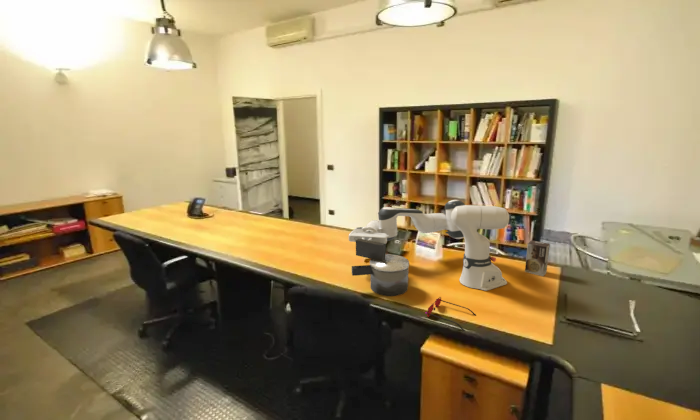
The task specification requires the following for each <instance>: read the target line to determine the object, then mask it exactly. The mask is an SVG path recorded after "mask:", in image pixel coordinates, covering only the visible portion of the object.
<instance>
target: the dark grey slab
mask: <svg viewBox="0 0 700 420" xmlns="http://www.w3.org/2000/svg"><path fill="white" fill-rule="evenodd" d="M355 256H356V257H357V256H358V257H361V258H362V257H363V258H367V259H369V265H370V266H371V267H372V268H374V269H376V270H378V271H383V272H399V271H403V270H405V269H407V268H408V269H409V267H410V260H408V259H407V258H406V257H405V256H402V255H397V254H389V253H387V254H386V243H385V244H384V243H379V242H374V241H369V240H364V239H357V240H356V242H355Z"/></svg>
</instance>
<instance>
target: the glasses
mask: <svg viewBox="0 0 700 420" xmlns="http://www.w3.org/2000/svg"><path fill="white" fill-rule="evenodd" d="M442 302H443V303H447V304H450V305H453V306H457V307H459V308H463V309H466V310H467V311H469V312H471V313H472V315H474V316H477V314H476V313H474V312H473V310H471V309H470V308H468V307H465V306H462V305H459V304H455V303H452V302H450V301H446V300H442V297H441V296H439V297H438V298H436V299H435V301H434V302H433V303H431V305H430V306H429V307H427V311H426V312H425V314H426V316H427V317H428V318H429V317H430V316H433V317H435V318H438V319H441V320H445V321H448V322H451V323H453V324H455V325H457V326H458V327H459V328H460V330H461V331H463V332H466V330H465V329H464V328H463V327H462V325H460V324H459V323H457V322H456V321H454V320H450V319H447V318H444V317H441V316H437V315H435V314H432V312H433V311H436V308H437V309H438V308H439V307H440V305H441V303H442ZM434 306H435V307H434Z"/></svg>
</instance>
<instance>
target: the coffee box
mask: <svg viewBox="0 0 700 420" xmlns="http://www.w3.org/2000/svg"><path fill="white" fill-rule="evenodd" d="M550 246H551V243H548V242H542V241H536V240H532V239H531V240H530V241H529V242H528V243H527V245H526V247H527V248H526V256H525V257H526V258H525V268H524V272H525V273H529V274H532V275H537V276H539V277H540V276H541V277H544V276H546V274H547V272H548V262H549V254H550V253H549V252H550Z"/></svg>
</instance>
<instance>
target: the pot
mask: <svg viewBox="0 0 700 420" xmlns="http://www.w3.org/2000/svg"><path fill="white" fill-rule="evenodd" d="M351 275H352V276H353V277H354V276H366V275H367V276H369V275H370V289H371V291H372V292H373V293H375V294H377V295H378V296H379V295H380V296H384V297H397V296H402V295H403V294H405V293H406V292H408V289H409V267H408V268H407V269H405V270H403V271H399V272H383V271H378V270H376V269H374V268H372V267H371V266H370V264H368V265H367V264H366V265H352V266H351Z"/></svg>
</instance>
